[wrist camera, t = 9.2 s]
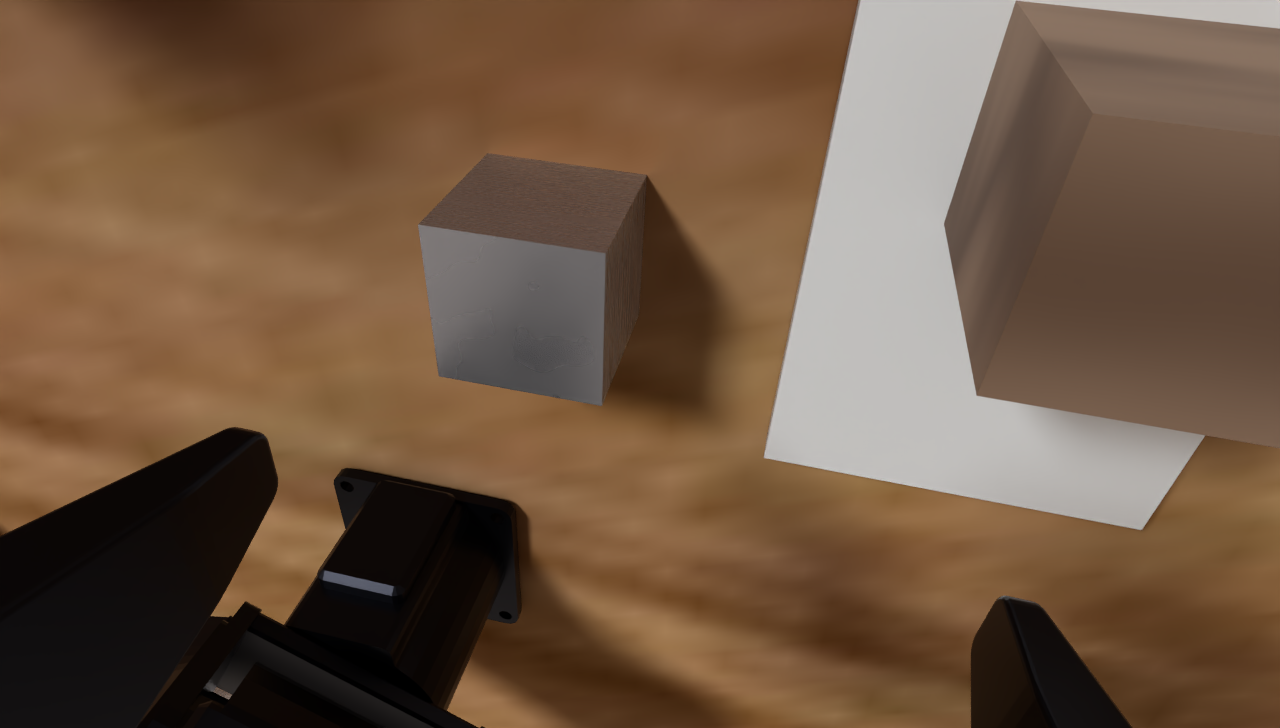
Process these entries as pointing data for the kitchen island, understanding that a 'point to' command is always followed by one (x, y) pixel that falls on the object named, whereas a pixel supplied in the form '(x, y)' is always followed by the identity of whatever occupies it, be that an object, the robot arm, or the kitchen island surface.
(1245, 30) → the walnut block
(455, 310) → the grey metal block
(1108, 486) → the cream tile
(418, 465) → the kitchen island surface
